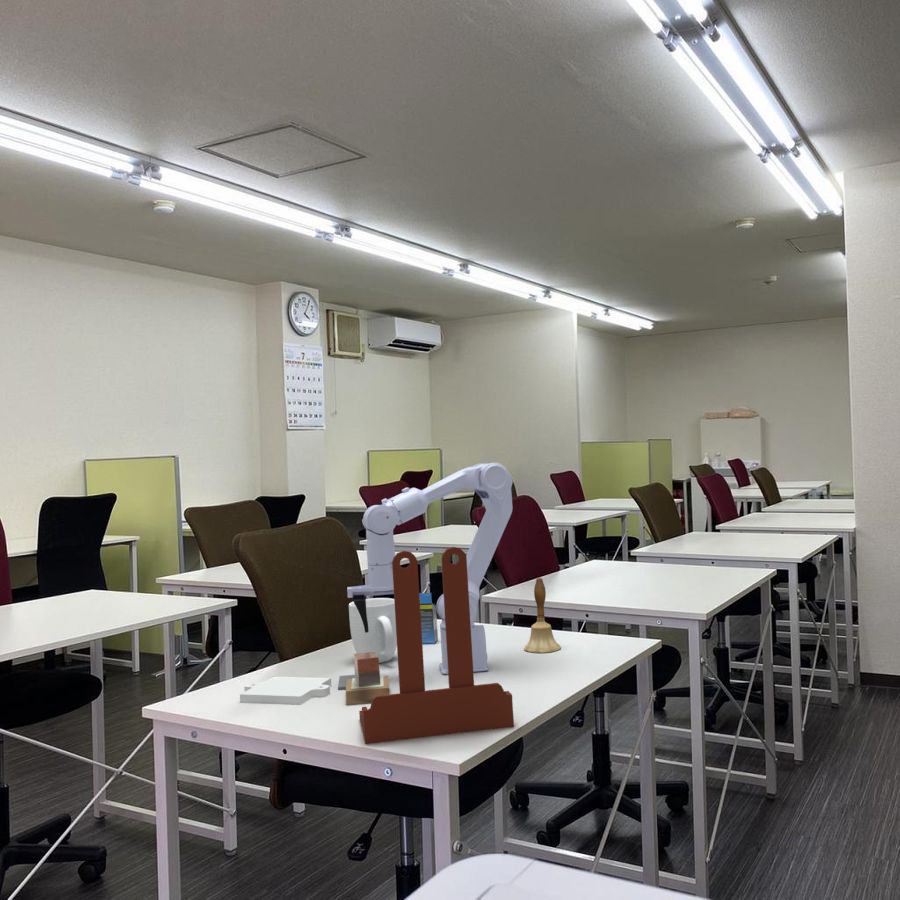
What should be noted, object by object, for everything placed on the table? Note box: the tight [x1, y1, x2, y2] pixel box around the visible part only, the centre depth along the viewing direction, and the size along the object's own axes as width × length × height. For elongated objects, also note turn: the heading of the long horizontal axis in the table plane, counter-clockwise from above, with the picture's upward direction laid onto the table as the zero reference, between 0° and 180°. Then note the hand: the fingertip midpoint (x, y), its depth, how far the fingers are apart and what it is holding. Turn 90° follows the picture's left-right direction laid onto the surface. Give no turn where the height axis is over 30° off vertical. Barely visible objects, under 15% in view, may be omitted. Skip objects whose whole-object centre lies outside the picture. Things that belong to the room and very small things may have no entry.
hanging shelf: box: [358, 546, 515, 745], centre depth 142 cm, size 24×13×30 cm, turn 100°
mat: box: [337, 674, 355, 691], centre depth 172 cm, size 8×9×1 cm
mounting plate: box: [239, 676, 332, 706], centre depth 166 cm, size 18×13×2 cm
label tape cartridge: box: [419, 592, 439, 645], centre depth 206 cm, size 9×4×12 cm, turn 77°
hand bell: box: [523, 577, 562, 654], centre depth 191 cm, size 8×8×16 cm
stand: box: [345, 675, 390, 706], centre depth 161 cm, size 8×9×3 cm
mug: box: [348, 597, 397, 664], centre depth 188 cm, size 15×11×13 cm
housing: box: [353, 652, 381, 687], centre depth 161 cm, size 4×6×5 cm, turn 14°
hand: (385, 630), depth 173 cm, fingers open, 7 cm apart
